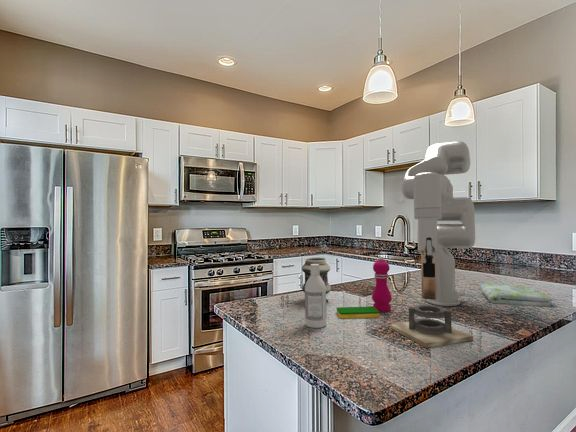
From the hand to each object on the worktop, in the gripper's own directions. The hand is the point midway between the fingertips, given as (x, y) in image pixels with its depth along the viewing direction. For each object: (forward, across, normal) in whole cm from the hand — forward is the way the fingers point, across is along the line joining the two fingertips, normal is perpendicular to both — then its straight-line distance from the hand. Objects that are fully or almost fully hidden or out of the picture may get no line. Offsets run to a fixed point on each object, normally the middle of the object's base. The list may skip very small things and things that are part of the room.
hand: (428, 275), depth 97 cm
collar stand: (+18, 0, 0) cm, 18 cm away
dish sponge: (+18, -13, -23) cm, 32 cm away
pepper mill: (+18, -22, -15) cm, 32 cm away
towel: (+18, -52, +35) cm, 65 cm away
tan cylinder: (+7, 0, 0) cm, 7 cm away
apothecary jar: (+18, -26, -42) cm, 53 cm away
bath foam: (+18, +2, -35) cm, 39 cm away
